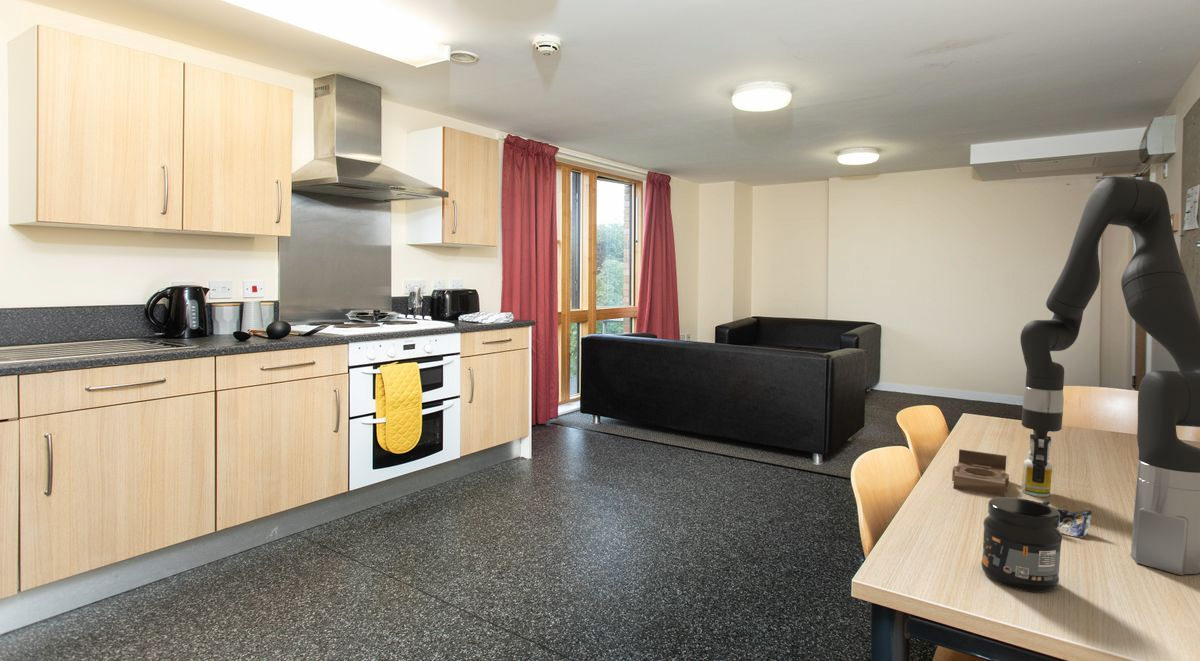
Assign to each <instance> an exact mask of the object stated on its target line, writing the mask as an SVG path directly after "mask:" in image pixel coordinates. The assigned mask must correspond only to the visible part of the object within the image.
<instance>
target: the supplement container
mask: <svg viewBox="0 0 1200 661" xmlns="http://www.w3.org/2000/svg"><path fill="white" fill-rule="evenodd" d="M1042 503H1043V502H1040V503H1039V501H1034V500H1030V499H1026V498H1020V497H1019V498H1018V497H1012V496H1011V497H1009V496H1004V497H1003V496H998V497H994V498H991V499H990V500H989V501H988V502H987V504H988V506H987V508H988V509H987V513H988V515H987V516H986V517H985V518H984V520H983V527H984V528H983V542H982V555H981V556H982V557H981V561H980V562H981V565H980V566H981V568H982V571H983V572H984V574H985V575H987V576H988V577H989V578H990V579H991V580H993V581H995V582H996V583H998V584H1000V585H1002V586H1006V587H1008V588H1012V589H1015V590H1019V591H1024V592H1031V593H1032V592H1034V593H1043V592H1044V593H1045V592H1049V591H1052V590H1054V589H1056V588H1057V587H1058V585H1059V582H1060V577H1059V576H1060V575H1059V574H1060V564H1061V563H1060V562H1061V561H1060V560H1061V548H1062V541H1063V532H1061V530H1060V528H1058V526H1059V522H1060V514H1059V512H1058V511H1057V510H1056V509H1057V508H1056V509H1054V508H1055V507H1053V506H1051V505H1049V506H1048V505H1045V504H1042ZM1052 507H1053V508H1052Z"/></svg>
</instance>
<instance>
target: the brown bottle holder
mask: <svg viewBox="0 0 1200 661" xmlns="http://www.w3.org/2000/svg"><path fill="white" fill-rule="evenodd" d="M1006 470H1007V455H1004V454H996V453H989V452H982V451H974V450H967V449H962V448H961V449H960V448H959V449H958V462H957V465H954V466H953V467H952V472H951V473H952V474H951V475H952V476H951V482H952V481H954V483H953V488H954V487H955V488H960V489H959V490H961V489H965V490H964V491H967V490H969V491H970V492H974V493H980V494H981V493H982V494H986V495H991V496H992V495H993V496H998V497H1005V492H1007V491H1009V482H1010V481H1009V480H1010V474H1008V472H1007V471H1006ZM1006 472H1007V473H1006ZM955 488H954V489H955ZM969 491H968V492H969Z"/></svg>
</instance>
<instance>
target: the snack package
mask: <svg viewBox="0 0 1200 661" xmlns="http://www.w3.org/2000/svg"><path fill="white" fill-rule="evenodd" d="M1038 502H1039V501H1038ZM1039 503H1042V504H1045V505H1048V506H1051V501H1042V502H1039ZM1051 507H1052V508H1054V509H1056V510H1057V511H1058V512H1059V514H1060V522H1059V526H1058V527H1057V528H1058V529H1061V530H1063V531H1064V532H1067V533H1068V537H1069V536H1070V537H1071V536H1073V537H1076V538H1080V539H1083V538H1084V537H1085V536H1087V534H1088V532H1089V529H1090V526H1091V520H1092V516H1093V512H1092V511H1091V510H1090V509H1085V510H1080V511H1079V512H1076V511H1070V510H1068V509H1065V508H1066V507H1067V506H1066V505H1062V507H1065V508H1055V507H1053V506H1051ZM1070 534H1071V535H1070ZM1064 535H1067V534H1066V533H1064Z"/></svg>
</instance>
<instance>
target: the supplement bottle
mask: <svg viewBox="0 0 1200 661" xmlns="http://www.w3.org/2000/svg"><path fill="white" fill-rule="evenodd" d="M1030 454H1031V449H1029V450H1028V451H1027V459H1024V461H1023V464H1022V465H1023V466H1022V467H1023V468H1022V480H1021V481H1022V482H1021V491H1022V492H1023V493H1024V494H1025V495H1029V496H1033V497H1039V498H1047V497H1049V496H1050V495H1051V487H1052V484H1051V483H1052V474H1053V473H1052V472H1053V466H1052V464H1051V462H1049V460H1050V457H1049V458H1047V466H1046V467H1045V477H1044V483H1036V482H1033V481H1032V473H1033V464H1032V461H1033V457H1032V456H1031V455H1030ZM1036 459H1037V460H1044V459H1043V458H1041V457H1036Z"/></svg>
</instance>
